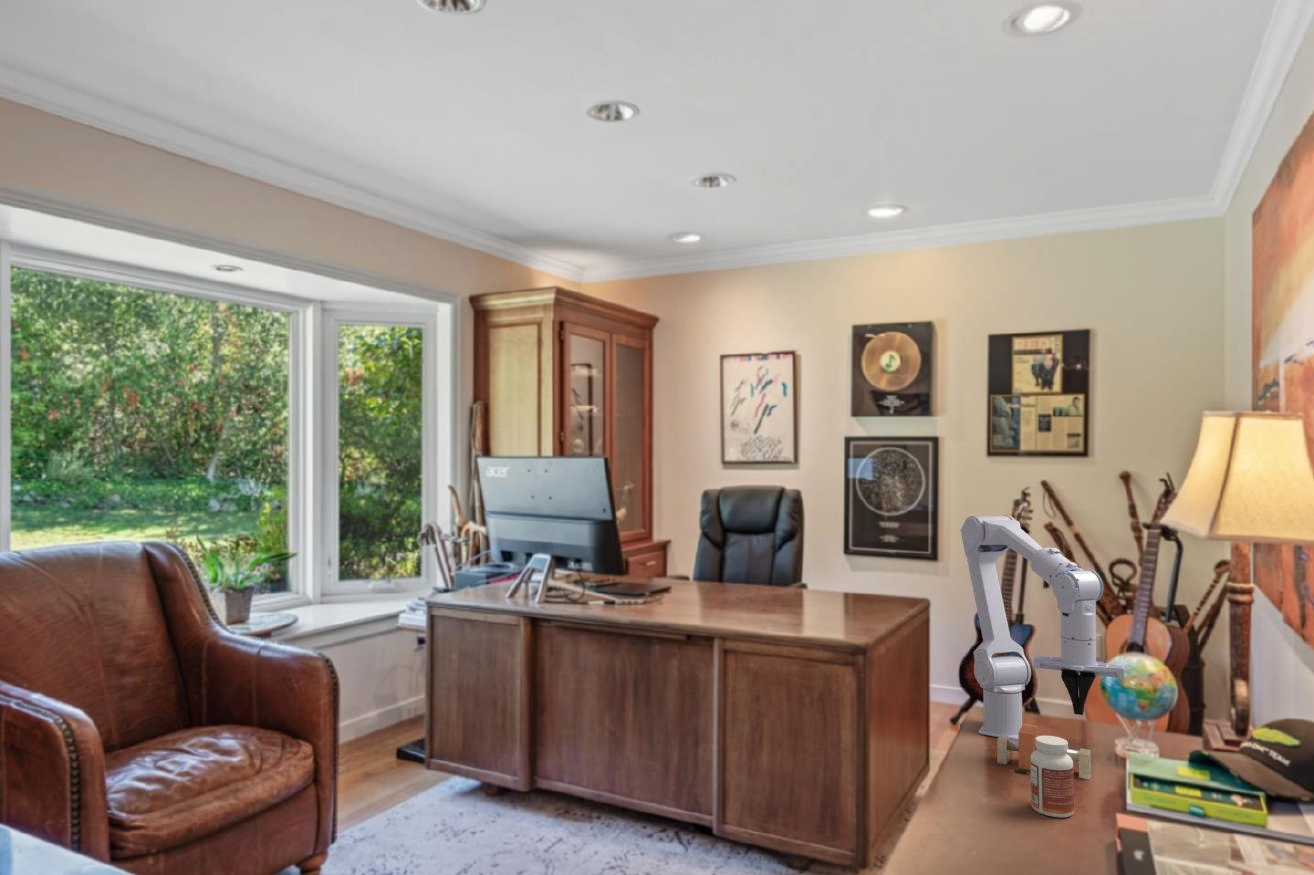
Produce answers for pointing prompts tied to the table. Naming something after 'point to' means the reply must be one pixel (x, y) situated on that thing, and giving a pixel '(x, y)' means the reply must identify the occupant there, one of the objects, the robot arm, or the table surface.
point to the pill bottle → (1052, 777)
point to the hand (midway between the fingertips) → (1078, 713)
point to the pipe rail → (1013, 745)
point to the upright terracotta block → (1026, 744)
